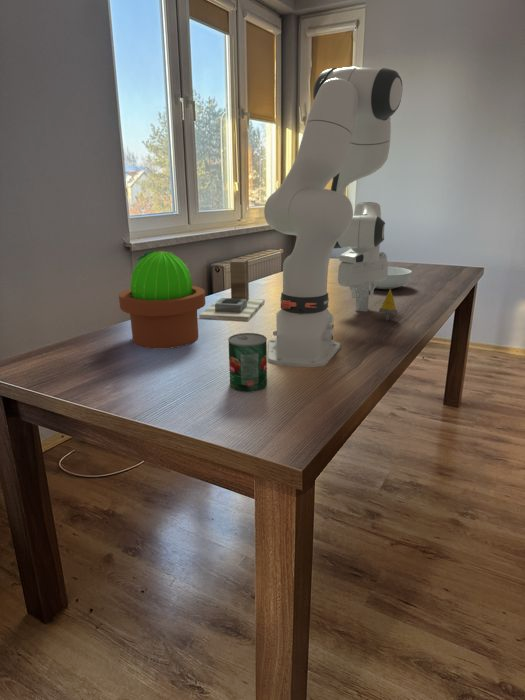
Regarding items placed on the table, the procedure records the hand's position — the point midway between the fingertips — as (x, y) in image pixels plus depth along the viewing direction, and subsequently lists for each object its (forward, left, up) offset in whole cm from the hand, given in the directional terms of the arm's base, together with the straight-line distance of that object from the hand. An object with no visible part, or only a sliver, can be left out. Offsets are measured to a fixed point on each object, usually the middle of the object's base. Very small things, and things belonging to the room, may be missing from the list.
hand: (362, 296), depth 160 cm
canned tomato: (-70, +22, -5) cm, 73 cm away
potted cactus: (-43, +52, -5) cm, 68 cm away
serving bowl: (+39, -8, -5) cm, 40 cm away
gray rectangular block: (0, 0, -5) cm, 5 cm away
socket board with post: (-9, +42, -5) cm, 43 cm away
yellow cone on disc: (-13, -8, -5) cm, 16 cm away
